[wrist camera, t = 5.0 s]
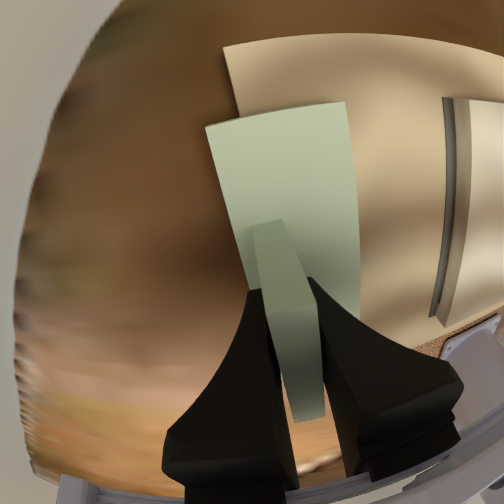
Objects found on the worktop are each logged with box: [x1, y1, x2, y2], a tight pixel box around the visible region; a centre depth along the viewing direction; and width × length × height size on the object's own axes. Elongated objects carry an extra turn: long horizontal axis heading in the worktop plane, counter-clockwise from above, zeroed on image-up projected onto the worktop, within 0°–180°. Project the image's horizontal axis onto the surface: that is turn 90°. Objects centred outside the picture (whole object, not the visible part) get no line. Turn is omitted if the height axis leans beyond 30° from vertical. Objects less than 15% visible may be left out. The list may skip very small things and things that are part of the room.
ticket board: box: [223, 33, 504, 349], centre depth 13 cm, size 20×20×3 cm
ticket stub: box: [205, 101, 360, 423], centre depth 11 cm, size 14×5×6 cm, turn 12°
